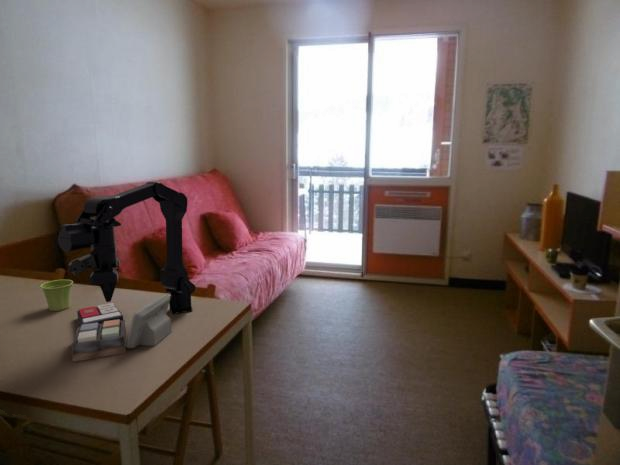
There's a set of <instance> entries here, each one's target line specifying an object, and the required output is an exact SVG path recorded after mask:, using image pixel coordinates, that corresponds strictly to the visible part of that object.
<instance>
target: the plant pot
mask: <svg viewBox="0 0 620 465" xmlns="http://www.w3.org/2000/svg"><path fill="white" fill-rule="evenodd" d="M73 284H74V281H73V280H71V279H56V280H51V281H46V282H43V283H42V284H41V285H40V288H41V289H42V292H43V293H44V297H45V299H46V304H47V307H48V310H49V311H52V312H57V311H59V312H60V311H63V310H65V309H68V308H71V290H72V288H73V286H72V285H73Z"/></svg>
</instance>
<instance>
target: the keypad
mask: <svg viewBox="0 0 620 465" xmlns="http://www.w3.org/2000/svg"><path fill="white" fill-rule="evenodd" d="M103 324H104V323H102V324H98V327H99V331H98V332H97V340H93V341H87V342H81V343H78V336H79V333H80V329H81V326H78V327H76V328H77V329H76V331H75V335H74V338H73V340H72V344H71V350H72V357H71V358H72V362H78V361H85V360H90V359H96V358H102V357H108V356H113V355H121V354H125V353H126V340H127V337H126V335H127V332H126V331H127V330H126V329H127V328H126V320H125V319H123V320H122V321H120V328H119V333H120V335H119V337H112V338H106V339H102V330H103Z"/></svg>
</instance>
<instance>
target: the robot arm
mask: <svg viewBox="0 0 620 465" xmlns="http://www.w3.org/2000/svg"><path fill="white" fill-rule="evenodd" d="M151 198H152V200H154V201H155V202H156V203H158V204H159V208H160V212H161V213H162V216H163V217H164V219H165V237H166V238H165V244H166V248H165V250H166V263H165V265H164V267H163V268H161V269H159V277H160V278H159V282H161V284H160V285H161V286H162V287H163V288H164V289H165V292H166V293H170V294H169V295H168V296H169V297H170V302H169V305H168V308H169V310H170V311H171V313H172V315H173V314H179V313H180V314H181V313H186V312H193V307H192V294H193V293H194V292H195V291H196V285H195V284H194V283H193V282H192V281H190V279H189V275H188V274H189V273H188V270H187V268H186V266H185V264H184V262H183V218H184V217H185V215H186V213H187V209H188V196H186V194H185V193H183V192H180V191H177V190H175V189H174V188H171V187H169V186H167V185H165V184H163V183H161V181H160V182H159V181H148V182H145V184H142V185H138V186H136V187H133V188H130V189H128V190H125V191H121V192H119V193H116V194H113V195H103V196H95V197H90V198H88V199H86V200H85V201H84V202H85V203H84V205H83V209H82V211H81V212H80V214H79V216H78V218H77V219H76V221H75V223H70V224H69V223H67V224H62V225H61V230H60V231H59V233H58V236H57V243H58V246H59V247H60V249H61V250H62V251H63V252H64V253H69V252H74V251H78V250H84V249H88V248H91V249H90V251H89V253H87V254H86V255H83V256H80V257H77V258H75V259H72V260H71V261H69V263H68V267H69V271H70V272H71V273H72V274H73V276H78V275H79V274H80V273H82V272H85V271H87V270H89V269H91V271H93V272H91V274H90V275H89V283H90V285H91V286H96V285H98V286H99V287H100V289H101V293H102V295H103V297H104V299H105V302H106V303H112V302H111V301H112V298H113V296H114V293H115V289H116V287H117V284H118V281H119V274H120V269H118V268H120V266H121V264H120V258H119V257H117V245H116V237H115V227H121V226H122V223H120V221H118V220H116V219H115V218H116V217H117V216H119V215H120V214H121V213H122V212H123V211H124V210H126V208H128V207H131V206H133V205H136V204H139V203H141V202H145V201H146V200H148V199H149V200H150V199H151ZM116 268H117V269H116Z"/></svg>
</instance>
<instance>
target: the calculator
mask: <svg viewBox="0 0 620 465" xmlns="http://www.w3.org/2000/svg"><path fill="white" fill-rule="evenodd" d="M118 319H120V321H122V320H124V316H123V314H122V312H121V311H120V309H119V308H118V307H117V305H116V304H115V303H113V302H108V303H103V304H100V305H99V304H98V305H97V306H90V307H89V306H88V307H83V308H79V309H78V310H77V320H78V323H79V327H81V326H82V325H83V324H90V323H97V322H98V324H102V323H104V321H111V320H118Z"/></svg>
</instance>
